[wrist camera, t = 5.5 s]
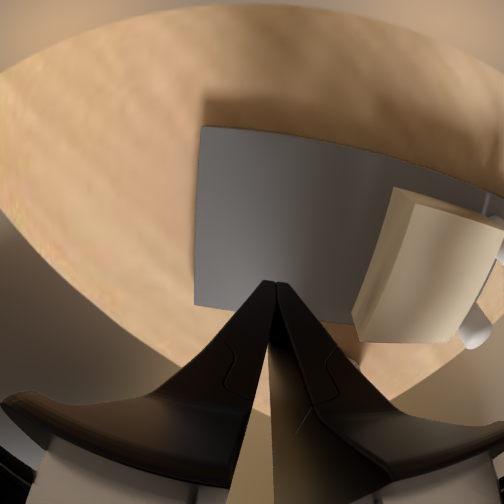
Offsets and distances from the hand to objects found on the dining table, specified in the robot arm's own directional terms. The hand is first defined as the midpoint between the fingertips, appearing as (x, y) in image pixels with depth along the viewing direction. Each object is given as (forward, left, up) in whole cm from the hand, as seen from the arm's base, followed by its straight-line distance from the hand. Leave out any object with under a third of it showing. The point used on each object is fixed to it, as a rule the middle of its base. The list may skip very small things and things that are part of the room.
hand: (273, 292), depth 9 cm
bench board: (-4, +3, -5) cm, 7 cm away
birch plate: (-6, +5, -4) cm, 9 cm away
